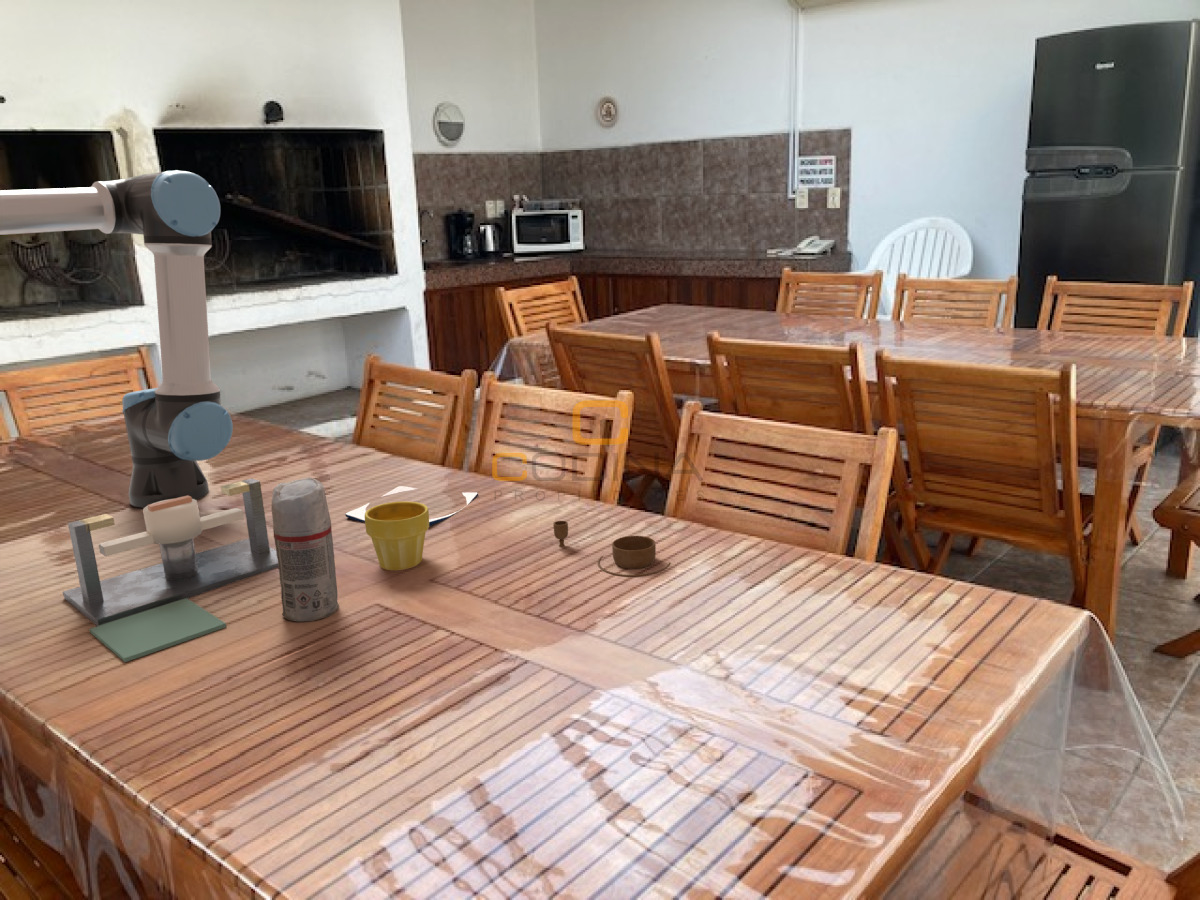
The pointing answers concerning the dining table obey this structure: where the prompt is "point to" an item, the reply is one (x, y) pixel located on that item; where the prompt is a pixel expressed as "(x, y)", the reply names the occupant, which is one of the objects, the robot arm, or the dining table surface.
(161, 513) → the cream crossbar with hub
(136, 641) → the mat
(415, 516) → the plant pot
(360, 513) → the plate
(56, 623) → the dining table surface
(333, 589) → the spray can
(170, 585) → the grey frame
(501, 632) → the dining table surface
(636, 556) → the place setting
